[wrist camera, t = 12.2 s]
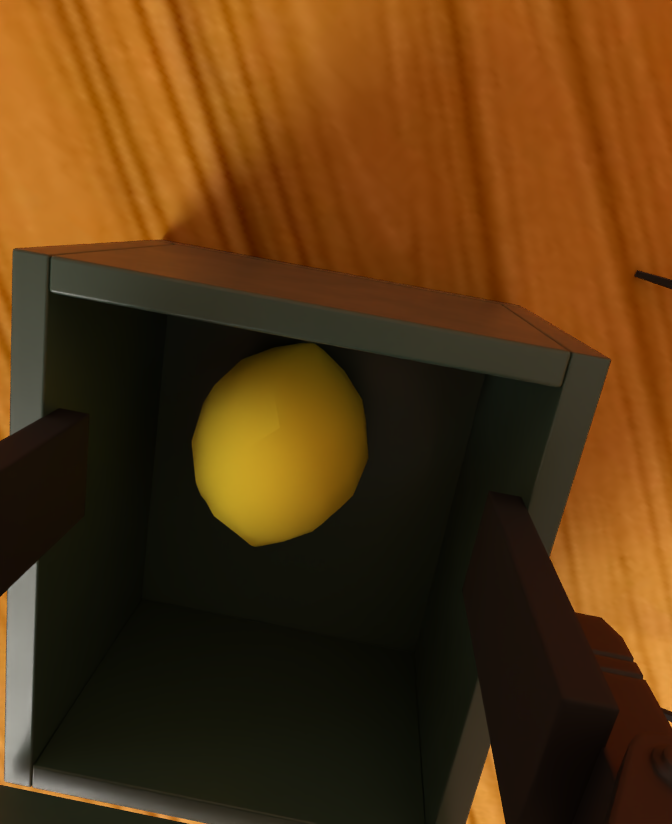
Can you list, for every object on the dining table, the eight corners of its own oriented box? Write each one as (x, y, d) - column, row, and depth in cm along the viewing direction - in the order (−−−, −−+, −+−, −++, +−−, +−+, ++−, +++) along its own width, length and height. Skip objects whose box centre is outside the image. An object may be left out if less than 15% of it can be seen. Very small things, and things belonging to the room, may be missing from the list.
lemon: (246, 303, 21) (200, 328, 16) (397, 354, 21) (401, 395, 16) (196, 484, 23) (141, 558, 18) (334, 529, 23) (320, 616, 18)
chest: (159, 239, 21) (11, 247, 13) (521, 306, 21) (612, 359, 13) (128, 599, 26) (3, 782, 17) (428, 659, 25) (450, 874, 17)
